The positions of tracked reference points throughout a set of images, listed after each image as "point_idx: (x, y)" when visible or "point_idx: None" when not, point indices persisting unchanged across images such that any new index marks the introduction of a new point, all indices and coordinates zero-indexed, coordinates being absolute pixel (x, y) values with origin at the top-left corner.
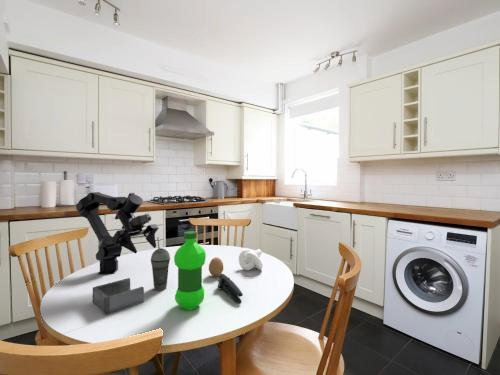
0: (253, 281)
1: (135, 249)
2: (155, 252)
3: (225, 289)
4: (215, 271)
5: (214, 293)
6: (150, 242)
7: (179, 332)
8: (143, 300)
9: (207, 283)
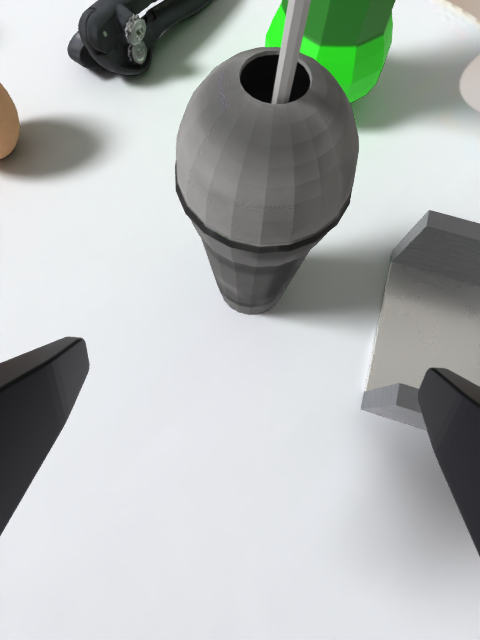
0: (16, 9)
1: (465, 385)
2: (344, 111)
3: (166, 26)
4: (12, 102)
5: (185, 74)
6: (1, 497)
7: (447, 41)
8: (397, 246)
9: (104, 138)
